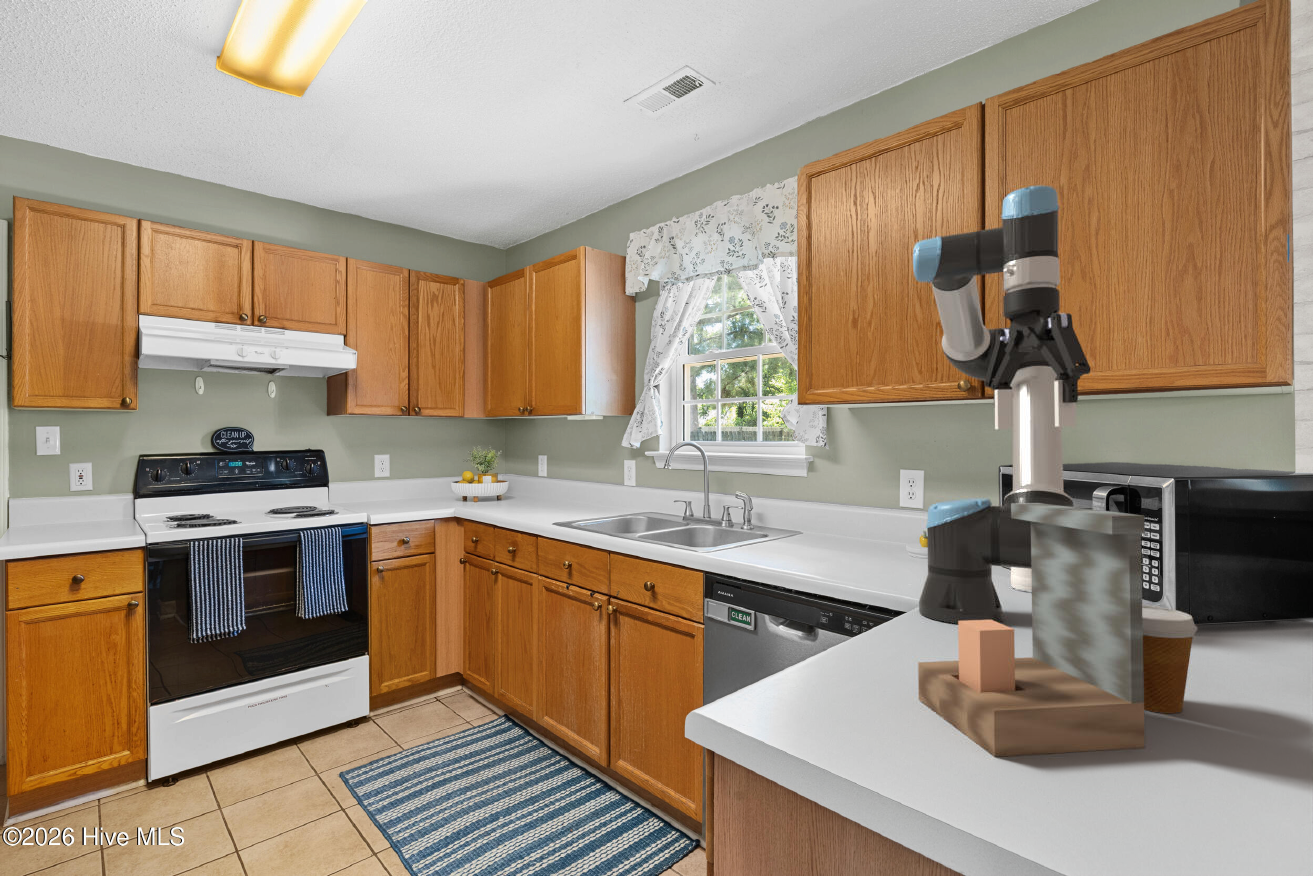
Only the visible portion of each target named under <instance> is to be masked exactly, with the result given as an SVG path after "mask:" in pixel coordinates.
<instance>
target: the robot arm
mask: <svg viewBox="0 0 1313 876" xmlns="http://www.w3.org/2000/svg"><path fill="white" fill-rule="evenodd" d="M1059 210H1060V206H1059V200H1058V191H1057V190H1056V189H1055V188H1054V187H1052V186H1050V185H1031V186H1027V187H1022V188H1019V189H1016V190H1013V191H1011V192H1010V193H1008V194H1007V195H1006V196H1005V197H1004V199H1003V200H1002V213H1001V219H1002V221H1001V222H1002V223H1001V225H1002V227H994V228H988V229H982V230H977V231H976V230H975V231H970V232H963V233H955V234H950V235H942V236H940V235H938V236H935V237H933V238H932V237H931V238H927V239H923V240H920V241H918V242H916V243H915V244H914V247H913V251H912V252H913V253H912V267H913V274H914V278H915V280H916V281H917V282H920V283H929V284H930V283H931V288H932V291H933V295H934V299H935V303H936V308H937V311H938V314H939V319H940V322H941V327H942V332H943V335H942V338H941V346H942V351H943V354H944V356H945V358H946V359H947V361H948V363H950V364H951V365H952V366H953V368H955V369H956V370H958V371H959V372H961V373H963V374H964V375H966V376H968V377H970V378H973V379H976V380H980V381H984V384H983V385H984V387H986V388H989V389H991V390H993V408H994V429H995V430H1012V491H1010V492H1009V493H1007V494H1006V495H1005V497H1004V500H1003V505H998V506H997V505H992V504H993V503H992V501H991V499H990V498H988V497H987V498H984V497H983V498H965V499H964V498H963V499H953V500H945V501H939V502H935V503H933V504H931V505H930V506H929V508H928V511H927V521H926V522H927V524H926V525H925V527H926V529H927V531H926V532H927V533H926V534H927V576H926V579H925V582H924V585H923V589H922V591H921V594H920V598H919V599H918V611H919V613H920V614H921V616H923V617H926V618H928V619H932V620H935V621H939V622H943V621H944V623H949V622H950V624H957V625H958V621H968V620H993V621H996V622H998V623H1000V622H1002V621H1003V608H1002V605H1001V601H1000V599H999V596H998V592H997V590H996V588H995V584H994V582H993V574H992V567H993V566H995V567H1008V568H1011V567H1017V568H1029V569H1031V521H1027V520H1021V519H1014V518H1011V503H1042V504H1050V505H1059V506H1067V507H1074V499H1073V498H1072V497H1071V496H1070V495H1068V494H1067V493H1066V492H1064V464H1063V463H1064V461H1063V459H1064V458H1063V435H1062V434H1063V431H1062V429H1063V428H1064V427H1077V403H1078V400H1079V396H1078V395H1079V389H1078V387H1079V385H1078V384H1079V383H1078V382H1079V380H1080V379H1081V377H1082V376H1084V375H1088V374H1090V373H1091V366H1090V364H1089V362H1088V360H1087V357H1086V355H1085V353H1084V349H1083V348H1082V346H1081V344H1080V341H1079V338H1078V336H1077V334H1076V332H1075V329H1074V325H1073V316H1072V314H1071V313H1070V312H1069V313H1065V312H1062V313H1059V312H1060V309H1061V307H1060V305H1061V304H1060V290H1059V289H1058V288H1057V287H1058V286H1059V285H1060V283H1061V281H1060V279H1061V278H1060V259H1059V257H1060V255H1059V231H1060V230H1059ZM999 273H1003V291H1004V292H1005V294H1004V295H1003V300H1002V301H1003V306H1002V307H1003V317H1004V318H1005V319H1007V320H1008V321H1009V322H1010V326H1009V327H1001V328H987V327H986V326H985V325H984V323H983V322H984V321H983V316H982V311H981V310H982V309H981V304H980V297H979V291H978V290H979V289H978V285H977V278H976V276H983V275H991V274H999ZM1062 427H1063V428H1062Z"/></svg>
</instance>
